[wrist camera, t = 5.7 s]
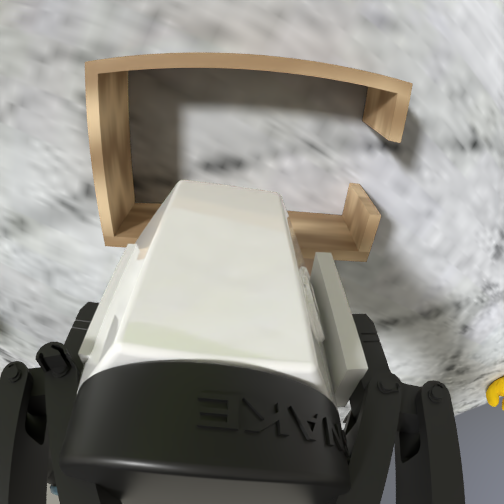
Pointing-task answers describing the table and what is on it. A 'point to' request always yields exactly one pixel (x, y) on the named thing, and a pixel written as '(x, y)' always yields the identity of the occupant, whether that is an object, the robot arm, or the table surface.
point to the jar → (211, 364)
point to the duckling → (495, 392)
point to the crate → (116, 69)
